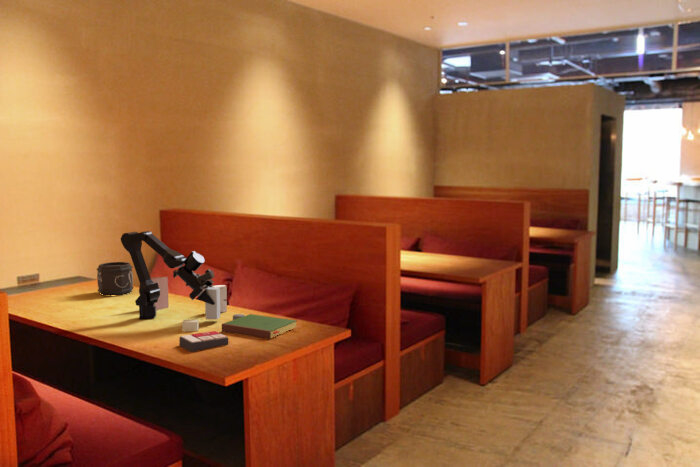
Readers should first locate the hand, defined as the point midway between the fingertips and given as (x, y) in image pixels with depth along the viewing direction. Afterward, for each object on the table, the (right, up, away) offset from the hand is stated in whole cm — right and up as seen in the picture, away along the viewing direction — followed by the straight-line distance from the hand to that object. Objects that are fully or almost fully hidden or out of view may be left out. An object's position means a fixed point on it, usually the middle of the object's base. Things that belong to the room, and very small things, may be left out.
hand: (215, 302), depth 263 cm
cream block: (-8, -10, -12) cm, 17 cm away
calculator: (+3, -13, -33) cm, 36 cm away
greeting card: (-34, -6, +24) cm, 42 cm away
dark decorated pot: (-67, -2, +63) cm, 92 cm away
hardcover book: (+21, -10, -13) cm, 27 cm away
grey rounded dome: (+10, -8, 0) cm, 13 cm away
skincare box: (-3, -6, +20) cm, 21 cm away
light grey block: (-1, -7, +1) cm, 7 cm away
